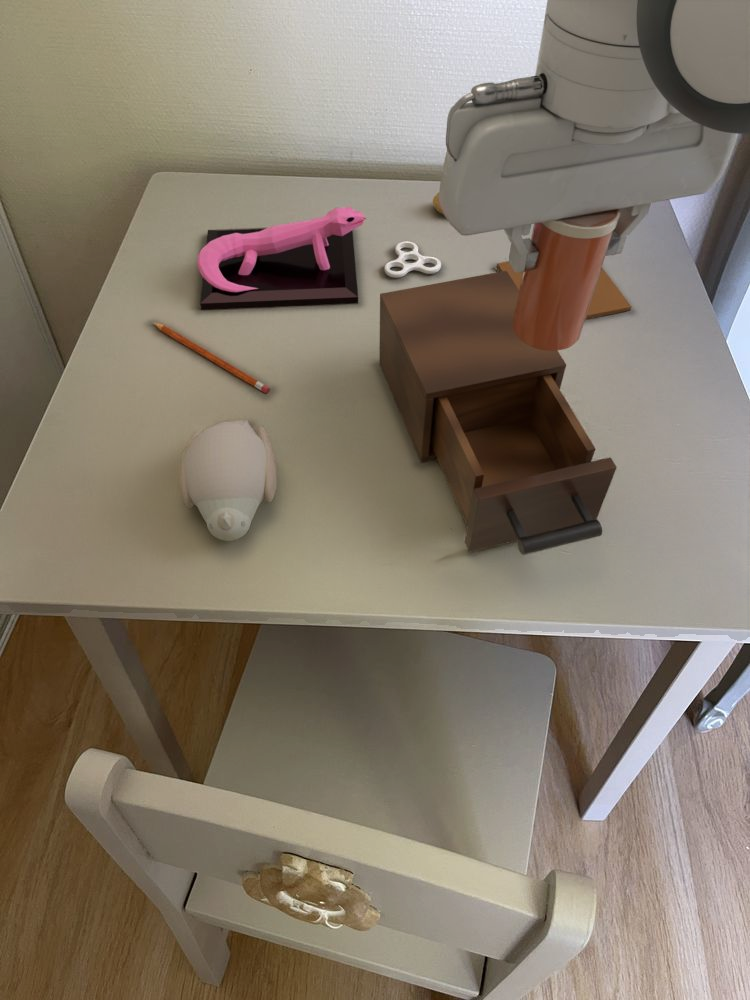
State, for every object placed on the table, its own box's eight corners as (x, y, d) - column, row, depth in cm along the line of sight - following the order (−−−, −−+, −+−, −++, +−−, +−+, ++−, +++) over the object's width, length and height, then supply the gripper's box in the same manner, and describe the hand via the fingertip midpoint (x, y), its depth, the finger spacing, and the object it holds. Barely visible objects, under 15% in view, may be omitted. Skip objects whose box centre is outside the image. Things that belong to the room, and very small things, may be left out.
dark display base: (370, 302, 91) (370, 249, 85) (199, 309, 90) (187, 256, 85) (363, 230, 100) (362, 177, 94) (207, 236, 99) (197, 182, 93)
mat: (585, 251, 98) (586, 247, 97) (630, 310, 91) (631, 306, 90) (496, 267, 95) (497, 263, 95) (535, 329, 89) (536, 325, 88)
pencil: (265, 395, 82) (264, 390, 82) (151, 326, 89) (149, 321, 88) (270, 391, 83) (270, 386, 82) (156, 322, 89) (155, 318, 89)
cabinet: (548, 434, 79) (566, 364, 71) (420, 463, 76) (426, 393, 69) (495, 341, 87) (506, 270, 80) (379, 364, 85) (379, 293, 77)
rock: (455, 222, 101) (457, 202, 99) (427, 214, 102) (428, 194, 100) (465, 209, 103) (467, 189, 101) (437, 201, 104) (439, 181, 102)
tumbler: (562, 301, 66) (596, 179, 57) (593, 345, 62) (635, 222, 54) (499, 311, 65) (525, 188, 56) (528, 357, 61) (560, 233, 53)
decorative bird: (187, 560, 70) (169, 510, 64) (186, 429, 79) (171, 375, 73) (285, 548, 70) (277, 498, 64) (272, 420, 80) (264, 366, 74)
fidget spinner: (386, 280, 94) (386, 274, 93) (376, 248, 98) (377, 243, 97) (443, 273, 94) (443, 268, 94) (431, 242, 98) (431, 237, 98)
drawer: (617, 558, 69) (641, 505, 62) (486, 592, 67) (497, 541, 60) (537, 417, 79) (551, 360, 73) (421, 443, 77) (425, 386, 71)
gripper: (469, 114, 44) (449, 310, 55) (782, 68, 47) (705, 260, 58) (432, 65, 47) (421, 258, 58) (726, 25, 51) (663, 214, 62)
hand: (565, 258), depth 58 cm, fingers closed on tumbler, 6 cm apart
